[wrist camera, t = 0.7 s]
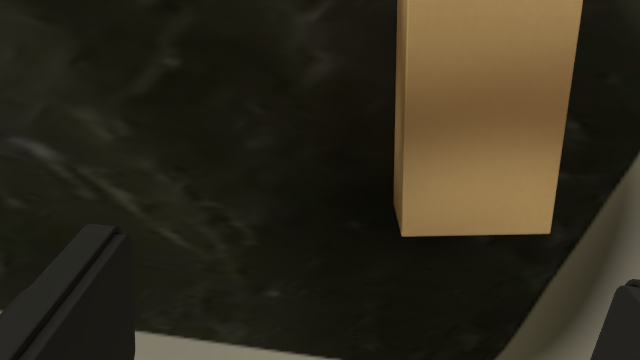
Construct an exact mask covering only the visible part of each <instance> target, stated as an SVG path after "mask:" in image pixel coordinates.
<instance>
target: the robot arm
mask: <svg viewBox="0 0 640 360" xmlns="http://www.w3.org/2000/svg"><path fill="white" fill-rule="evenodd" d="M134 356H135V328H134V301H133V274H132V246H131V238H130V236H129V235H122V231H121V229H120V228H119V227H116V226H106V225H96V224H87V225H86V226H85V227H84V228H83V229H82V230H81V231H80V232H79V233H78V234H77V235H76V237H75V238H74V239H73V240H72V241H71V242H70V243H69V244H68V245H67V246H66V248H65V249H64V250H63V251H62V252H61V253H60V254H59V255H58V256H57V257H56V258H55V260H54V261H53V262H52V263H51V264H50V265H49V266H48V267H47V268H46V269H45V271H44V272H43V273H42V274H41V275H40V276H39V277H38V278H37V279H36V280H35V282H34V283H33V284H32V285H31V286H30V287H29V288H27V289H24V290H23V291H22V292H21V293H20V294H18V295H17V297H16V298H15V299H14V300H13V301H12V302H11V303H10V304H9V305H8V306H7V307H6V308H5V310H4V311H3V312H2V313H1V314H0V360H134ZM590 360H640V280H637V279H632V280H629V281H628V282H627V283H626V284H625V286H620V287H619V288H618V289H617V290H616V292H615V294H614V297H613V300H612V303H611V305H610V308H609V311H608V313H607V316H606V319H605V322H604V324H603V327H602V330H601V332H600V335H599V338H598V341H597V343H596V346H595V349H594V351H593V354H592V357H591V359H590Z"/></svg>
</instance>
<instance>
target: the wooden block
mask: <svg viewBox="0 0 640 360" xmlns="http://www.w3.org/2000/svg"><path fill="white" fill-rule="evenodd" d="M582 4H583V0H397V52H396V103H395V155H394V207H395V211H396V215H397V219H398V223H399V228H400V232H401V235H402V236H403V237H407V236H460V235H513V234H550V230H551V223H552V216H553V209H554V202H555V195H556V188H557V181H558V174H559V167H560V160H561V153H562V146H563V139H564V132H565V124H566V117H567V110H568V103H569V96H570V89H571V82H572V75H573V68H574V61H575V54H576V47H577V40H578V33H579V26H580V19H581V12H582Z"/></svg>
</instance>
